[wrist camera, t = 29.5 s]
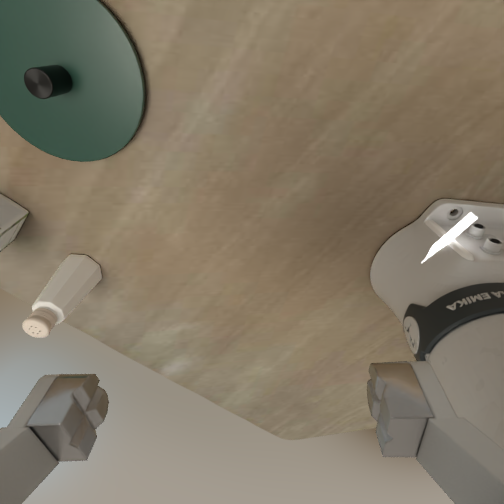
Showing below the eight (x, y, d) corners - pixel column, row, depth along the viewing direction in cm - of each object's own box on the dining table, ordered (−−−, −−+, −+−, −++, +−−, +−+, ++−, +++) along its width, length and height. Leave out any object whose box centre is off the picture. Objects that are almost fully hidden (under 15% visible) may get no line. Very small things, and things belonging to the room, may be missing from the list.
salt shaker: (53, 258, 44) (-4, 317, 35) (88, 248, 43) (39, 306, 33) (77, 289, 47) (30, 351, 37) (111, 280, 45) (71, 342, 36)
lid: (118, -39, 27) (92, -52, 23) (164, 151, 36) (151, 165, 32) (-56, -14, 29) (-108, -22, 25) (28, 164, 37) (-1, 179, 33)
